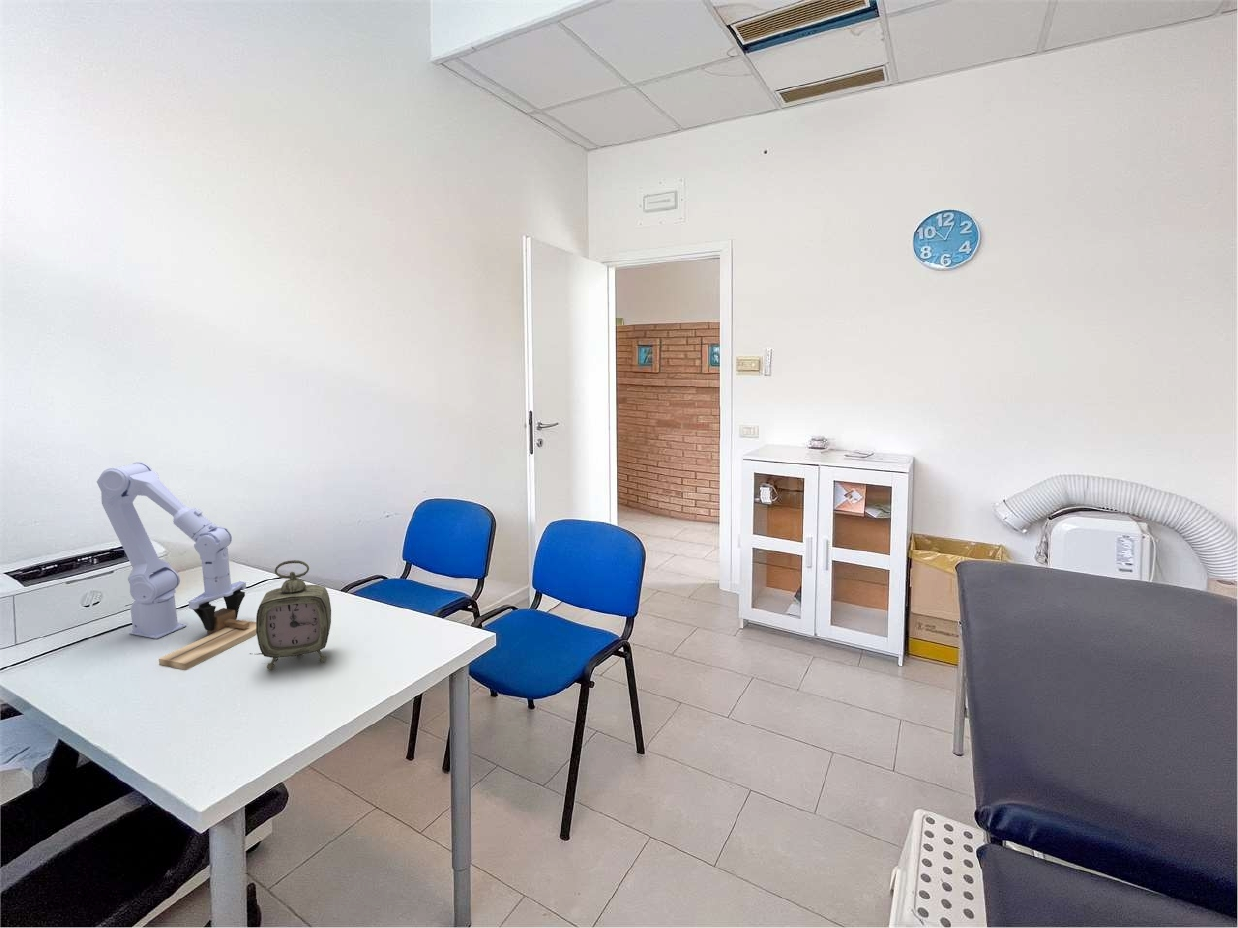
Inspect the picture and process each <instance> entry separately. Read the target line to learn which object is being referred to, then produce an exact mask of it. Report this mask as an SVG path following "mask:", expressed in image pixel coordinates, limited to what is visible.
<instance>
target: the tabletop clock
mask: <svg viewBox="0 0 1238 928" xmlns="http://www.w3.org/2000/svg"><path fill="white" fill-rule="evenodd" d="M290 564H299V565H300V564H301V565H303V566H305V568H306V570H305V571H304V572H302V573H299V574H296V572H295V571H290V572H289V575H285V574H284V575H283V574H280V573H278V570H279V568H281V567H282V566H284V565H290ZM309 570H310V567H309V564H308V563H306V562H305V561H303V560H297V559H293V560H291V559H290V560H287V561H283V562H281V563H279V564H278V565H276V567H275V568H274V574H275V575H276V576H277V577H278V578H282V579H287V580H285V581H284V582H283V583H282V585H281V587H278V588H275V589H271V590H270V591H267V592H265V595H264V596H263V598H262V600H261V602H260V604H259V606H258V609H257V611H256V612H257V613H256V619H255V622H256V633H257V635H256V637H257V643H258V647H259V650H260V653H262V654H263V657H266V658H271V659H272V660H271V662H268V663H269V664H268V663H267V664H266V670H268V671H273V670H274V669H275V668H276V664H275V662H276V660H277V658H290V657H297V658H302V657H303V656H304V655H309V654H314V653H317V654H318V656H319V658H318V661H319V663H322V664H323V663H325V662H326V661H327V656H326V655H323V654H322V652H321V650H323V649H325V647H326V645H327V643H328V638H329V634H330V629H331V625H332V624H331V623H332V608H331V600H330V595H329V593H328V590H327V588H326V587H325V586H324V585H320V584H307V583H305V581H304V580H303V579H300V578H301V577H303V576H306V575H307V574H308V573H309ZM262 654H261V655H262Z"/></svg>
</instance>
